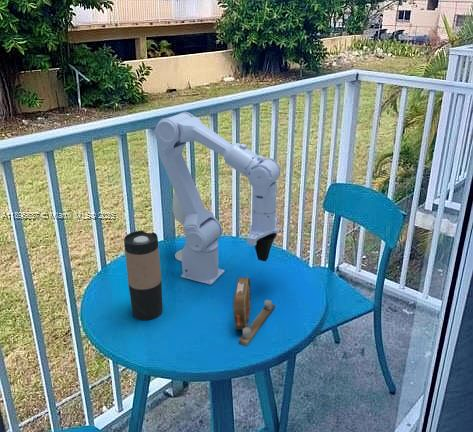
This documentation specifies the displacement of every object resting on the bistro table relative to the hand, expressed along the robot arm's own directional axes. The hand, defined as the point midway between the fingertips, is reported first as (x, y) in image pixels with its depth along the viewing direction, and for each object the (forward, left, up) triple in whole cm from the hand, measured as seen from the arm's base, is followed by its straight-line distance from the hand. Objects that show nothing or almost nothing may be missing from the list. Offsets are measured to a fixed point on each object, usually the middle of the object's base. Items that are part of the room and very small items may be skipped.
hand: (262, 259), depth 120 cm
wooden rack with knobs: (+5, -14, -9) cm, 17 cm away
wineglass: (-27, +8, -9) cm, 30 cm away
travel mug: (-21, -21, -9) cm, 31 cm away
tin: (+1, -13, -9) cm, 16 cm away
